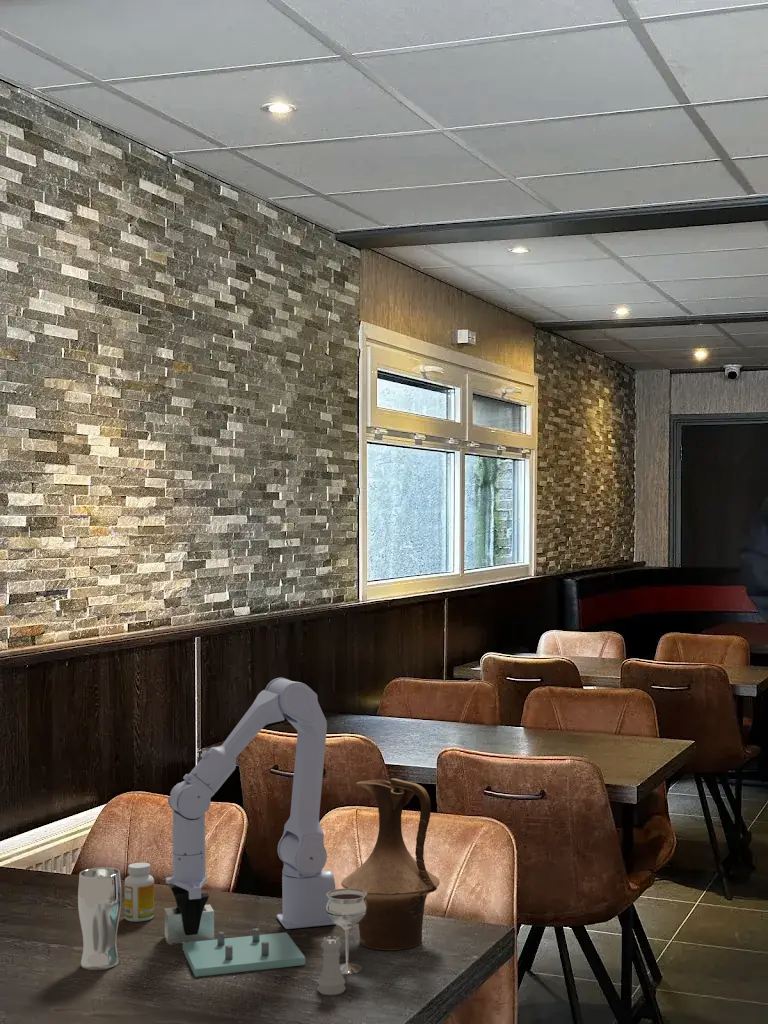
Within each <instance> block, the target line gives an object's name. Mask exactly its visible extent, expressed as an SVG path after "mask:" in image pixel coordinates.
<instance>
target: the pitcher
mask: <svg viewBox="0 0 768 1024" xmlns="http://www.w3.org/2000/svg"><path fill="white" fill-rule="evenodd" d="M355 786H357V787H361V788H363V789H366V790H367V791H368V792H370V793H371V795H372V796H373V797H374V799H375V802H376V805H377V810H378V820H379V821H378V824H379V825H378V833H377V838H376V842H375V846H374V847H373V850H372V852H370V855H369V856H368V858H367V859H366V860H365V861H364V862H363V863H362V864H361V865H360V866H359V867H358V868H357V869H355V870H354V871H352V873H350V874H349V875H347V876H345V878H343V879H342V880H341V883H340V884H341V886H342V887H343V889H348V888H351V889H359V890H363V891H365V892H367V896H366V898H365V900H366V901H367V905H368V907H367V913H366V916H365V917H364V918H363V919H362V920H361V921H360V922H359V923H358V929H359V942H360V944H361V945H362V946H364V947H366V948H369V949H374V950H382V951H396V950H403V949H408V948H412V947H416V946H418V945H420V944H422V942H423V941H422V940H423V923H424V914H425V913H424V912H425V905H426V899H427V897H428V895H429V894H430V893H434V892H435V891H436V890H438V887H439V885H440V883H441V882H440V879H439V877H437V876H436V875H435V874H432V873H431V872H430V871H428V870H427V869H426V863H425V858H424V852H425V851H424V850H425V849H424V848H425V847H424V846H425V841H426V838H427V831H428V828H429V823H430V819H431V811H432V805H431V804H432V803H431V798H430V796H429V793H428V792H427V790H426V788H425V787H423V786H422V785H420V784H418V783H416V782H412V781H411V782H410V781H406V780H402V779H400V778H396V777H395V778H390V781H387V780H384V779H369V780H362V781H361V780H360V781H357V782H356V783H355ZM415 795H416V796H417V797H418V800H419V803H420V813H419V823H418V825H417V834H416V838H415V839H416V840H415V842H416V844H415V858H414V857H413V856H412V855H411V853H410V852H409V850H408V848H407V846H406V844H405V843H406V842H405V841H404V837H403V832H402V831H403V829H402V814H403V808H404V807H405V806H407V805H408V804H409V803H410V801H411V799H412V798H413V797H414V796H415Z"/></svg>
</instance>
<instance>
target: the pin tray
mask: <svg viewBox="0 0 768 1024" xmlns="http://www.w3.org/2000/svg"><path fill="white" fill-rule="evenodd" d="M216 933H217V936H216V939H215V938H214V940H205V941H195V942H185V943H182V951H184V952H183V954H184V956H185V958H186V961H187V962H188V964H189V966H190V969H191V971H192V973H193V975H194V977H195V978H196V977H198V978H199V977H206V976H214V975H215V976H216V975H224V974H234V973H241V972H251V971H253V972H254V971H261V970H269V969H279V968H288V967H297V966H305V965H306V956H305V955H304V953H303V952H302V951H301V949H300V948H299V947H298V946H297V945H296V943H295V941H294V940H293V939H292V938H291V936H290V935H289V934H288V933H287V932H277V933H268V934H265V933H264V934H260V928H257V927H256V928H252V932H251V933H252V934H251V935H248V936H247V935H246V936H236V937H228V938H226V937H225V932H224V931H218V932H216Z"/></svg>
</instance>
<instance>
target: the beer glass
mask: <svg viewBox="0 0 768 1024" xmlns="http://www.w3.org/2000/svg"><path fill="white" fill-rule="evenodd" d="M78 877H79V878H78V891H77V903H78V904H77V906H78V907H77V908H78V916H79V922H80V928H81V934H82V941H83V942H82V943H83V944H82V945H83V947H82V948H83V949H82V955H81V960H80V966H81V968H82V969H85V970H89V971H102V970H109V969H111V968H114V967H116V966H118V965H119V962H120V961H119V955H118V953H119V952H118V949H117V948H118V947H117V934H118V928H119V921H120V918H121V917H120V916H121V908H122V881H121V870H120V869H118V868H115V867H109V866H107V867H106V866H103V867H101V866H100V867H92V868H87V869H84V870H82V871H80V872H79V875H78Z"/></svg>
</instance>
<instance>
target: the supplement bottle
mask: <svg viewBox="0 0 768 1024" xmlns="http://www.w3.org/2000/svg"><path fill="white" fill-rule="evenodd" d="M127 872H128V874H129V875H128V876H127V877H125V879H124V919H125V920H126V921H129V922H132V923H133V922H134V923H138V922H139V923H140V922H146V921H149V920H152V919H153V918H155V917H154V916H155V879H154V877H153V876H152V875H151V874H150V873H151V864H150V863H148V862H135V863H130V864H129V865H128V868H127Z"/></svg>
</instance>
